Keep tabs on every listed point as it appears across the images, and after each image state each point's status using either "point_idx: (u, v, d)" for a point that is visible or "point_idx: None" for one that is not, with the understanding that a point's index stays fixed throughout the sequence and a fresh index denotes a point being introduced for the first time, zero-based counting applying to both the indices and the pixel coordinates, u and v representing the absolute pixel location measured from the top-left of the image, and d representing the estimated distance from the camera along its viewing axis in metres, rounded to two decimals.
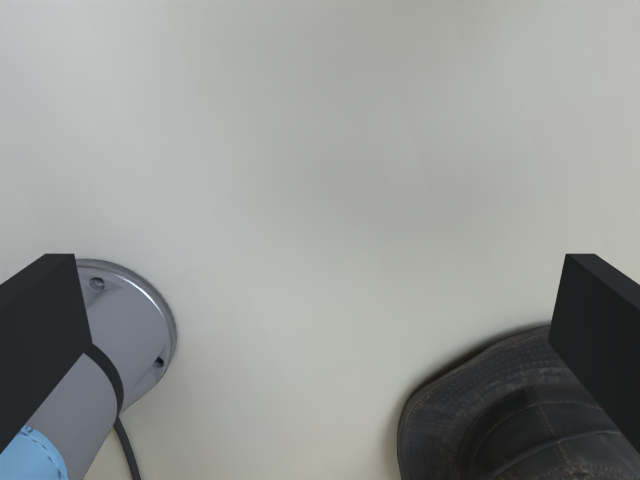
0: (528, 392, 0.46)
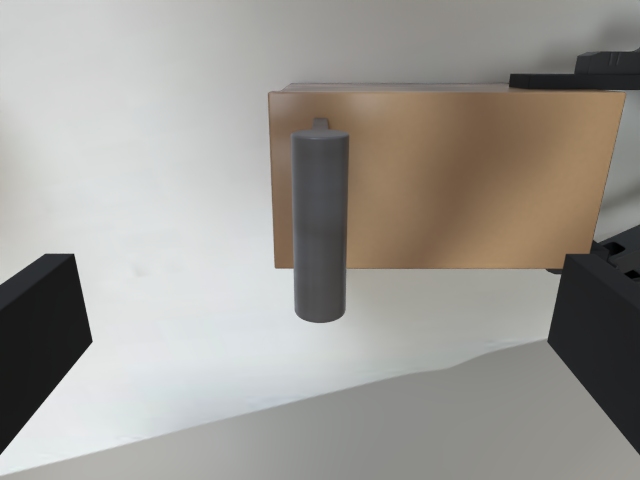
0: None
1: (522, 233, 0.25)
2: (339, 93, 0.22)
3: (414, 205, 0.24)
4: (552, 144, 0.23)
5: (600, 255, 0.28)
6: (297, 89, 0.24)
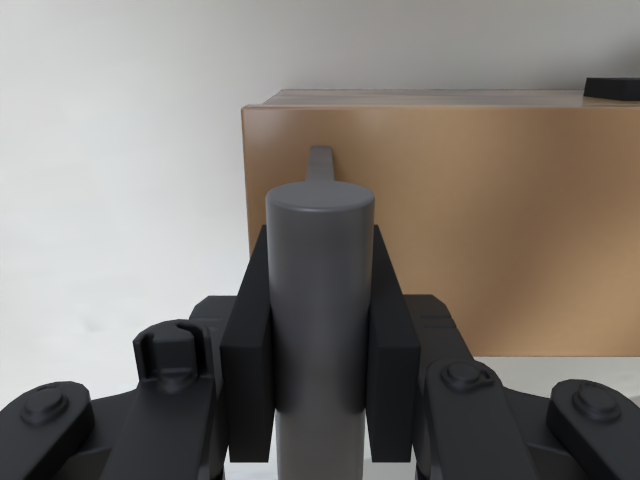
0: None
1: (613, 309, 0.17)
2: (350, 109, 0.14)
3: (458, 270, 0.16)
4: None
5: None
6: (287, 101, 0.17)
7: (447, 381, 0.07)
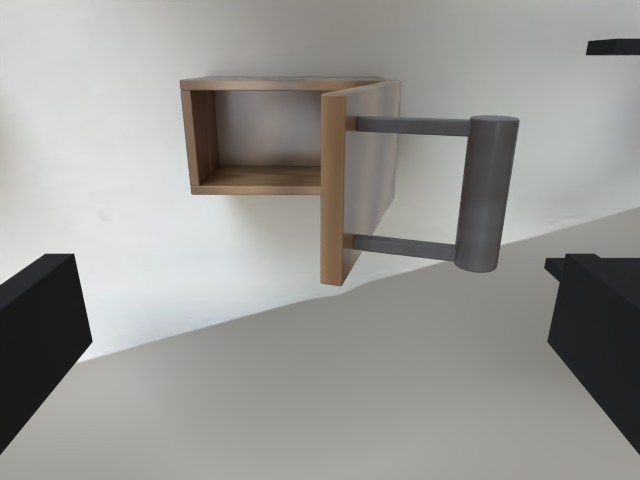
0: None
1: (387, 184, 0.34)
2: (362, 91, 0.23)
3: (373, 182, 0.29)
4: None
5: None
6: (194, 79, 0.37)
7: None
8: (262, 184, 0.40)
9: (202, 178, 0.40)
